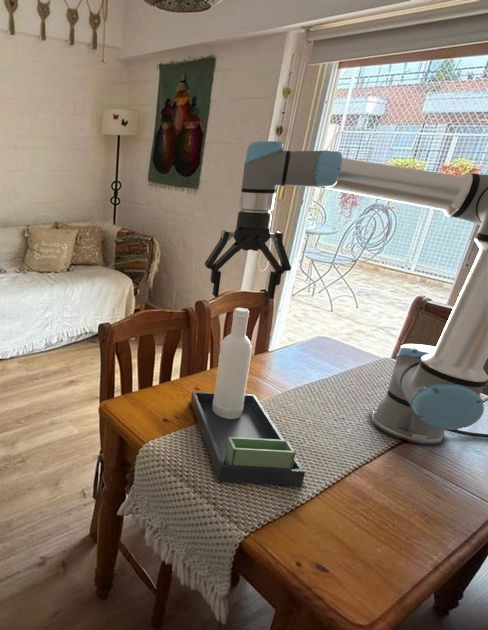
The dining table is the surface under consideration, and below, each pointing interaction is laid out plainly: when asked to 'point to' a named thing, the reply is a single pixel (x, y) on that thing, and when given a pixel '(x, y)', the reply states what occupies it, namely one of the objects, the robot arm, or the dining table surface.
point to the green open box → (259, 453)
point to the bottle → (233, 368)
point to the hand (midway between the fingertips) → (242, 296)
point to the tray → (246, 426)
